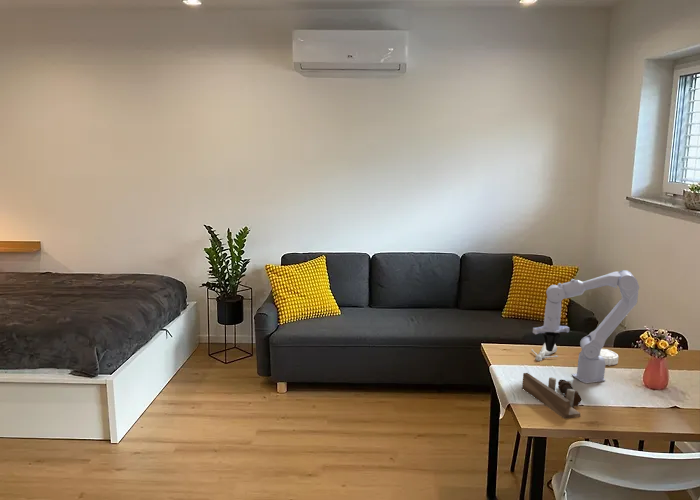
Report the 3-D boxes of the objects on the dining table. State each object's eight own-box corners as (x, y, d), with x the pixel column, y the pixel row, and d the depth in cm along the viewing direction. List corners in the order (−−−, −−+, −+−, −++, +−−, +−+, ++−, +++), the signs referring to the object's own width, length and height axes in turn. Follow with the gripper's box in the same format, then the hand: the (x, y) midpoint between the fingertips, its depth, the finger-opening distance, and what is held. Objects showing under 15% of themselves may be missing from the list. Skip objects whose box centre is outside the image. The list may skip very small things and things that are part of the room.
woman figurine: (566, 343, 254) (551, 357, 241) (565, 353, 256) (551, 368, 242) (539, 337, 261) (523, 350, 247) (538, 346, 262) (523, 360, 249)
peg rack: (541, 386, 220) (543, 370, 219) (585, 415, 198) (587, 398, 196) (521, 388, 217) (523, 373, 216) (564, 418, 195) (566, 401, 194)
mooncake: (584, 361, 246) (585, 353, 246) (589, 353, 257) (590, 345, 256) (616, 368, 240) (617, 359, 240) (619, 359, 251) (620, 350, 250)
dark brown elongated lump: (563, 392, 220) (574, 409, 205) (551, 385, 220) (562, 402, 205) (572, 380, 219) (584, 396, 204) (561, 372, 219) (572, 388, 204)
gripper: (541, 320, 222) (537, 355, 225) (575, 318, 226) (571, 353, 228) (531, 315, 229) (528, 348, 231) (564, 313, 232) (561, 346, 235)
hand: (549, 350), depth 230 cm, fingers closed
